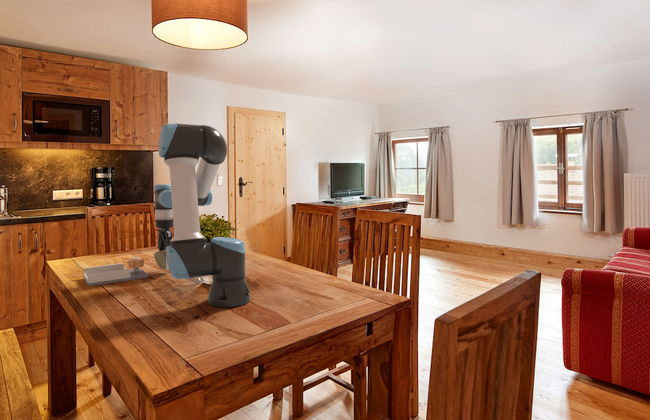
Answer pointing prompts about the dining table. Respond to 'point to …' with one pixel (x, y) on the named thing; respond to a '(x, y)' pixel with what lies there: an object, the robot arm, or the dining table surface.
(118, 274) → the chassis
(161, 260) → the flower pot
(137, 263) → the wheel
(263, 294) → the dining table surface
